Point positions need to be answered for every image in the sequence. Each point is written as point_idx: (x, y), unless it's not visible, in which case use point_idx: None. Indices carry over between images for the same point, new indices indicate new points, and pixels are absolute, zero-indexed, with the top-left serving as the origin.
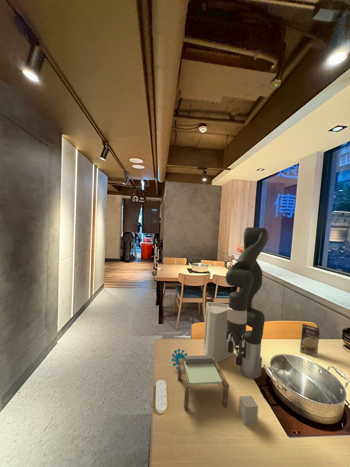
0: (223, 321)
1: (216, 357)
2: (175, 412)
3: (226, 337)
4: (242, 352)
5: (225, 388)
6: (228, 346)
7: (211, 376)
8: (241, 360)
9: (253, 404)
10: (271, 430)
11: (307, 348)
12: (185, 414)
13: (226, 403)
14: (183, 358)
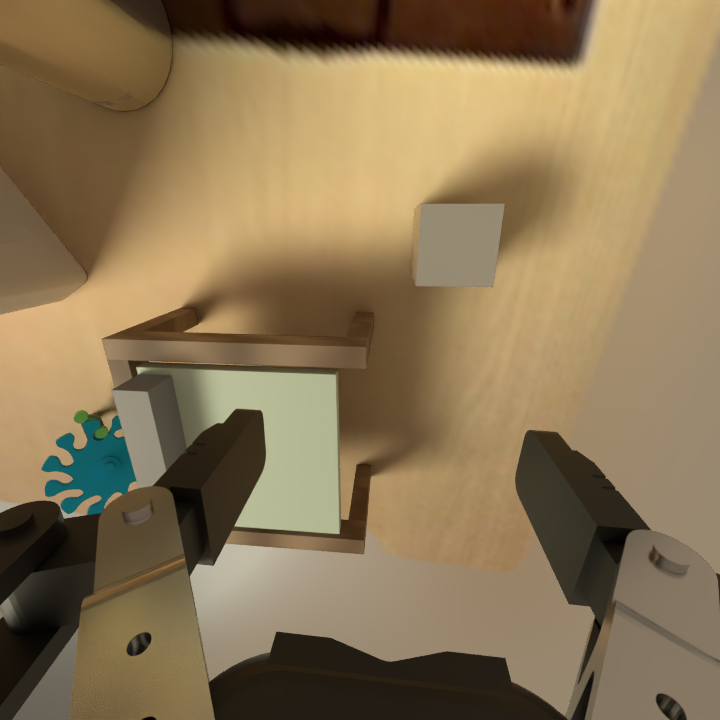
0: None
1: (35, 257)
2: (376, 504)
3: (55, 629)
4: (712, 628)
5: (367, 357)
6: (230, 529)
7: (293, 421)
8: (624, 512)
9: (486, 227)
10: (525, 146)
11: None
12: (388, 477)
13: (372, 322)
14: (99, 452)
